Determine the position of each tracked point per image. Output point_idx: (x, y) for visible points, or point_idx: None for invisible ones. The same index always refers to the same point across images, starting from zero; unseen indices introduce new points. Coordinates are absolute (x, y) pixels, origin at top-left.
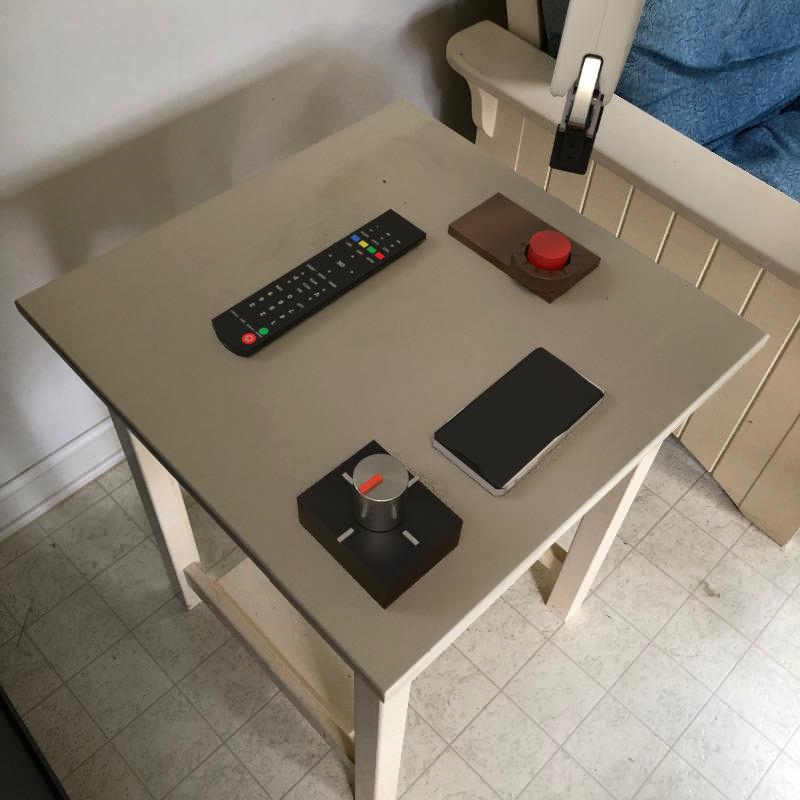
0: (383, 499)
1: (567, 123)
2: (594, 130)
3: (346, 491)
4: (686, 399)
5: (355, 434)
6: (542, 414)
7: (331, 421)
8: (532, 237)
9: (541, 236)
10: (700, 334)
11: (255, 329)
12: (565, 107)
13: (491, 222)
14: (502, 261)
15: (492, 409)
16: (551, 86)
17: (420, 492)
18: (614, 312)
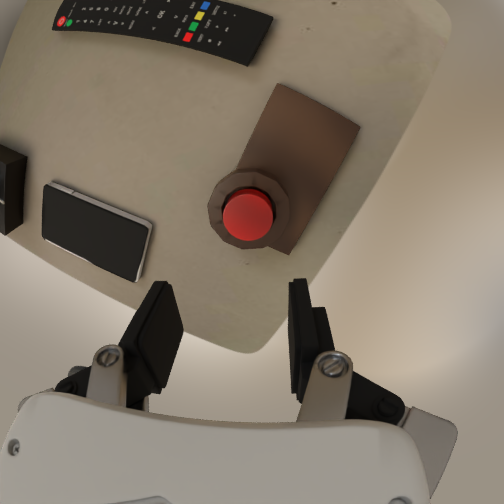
0: None
1: (56, 387)
2: (288, 335)
3: None
4: None
5: (36, 132)
6: (94, 246)
7: (38, 112)
8: (250, 195)
9: (256, 205)
10: (238, 329)
11: (69, 17)
12: (88, 392)
13: (302, 129)
14: (240, 159)
15: (77, 213)
16: (21, 408)
17: (1, 208)
18: (232, 272)
